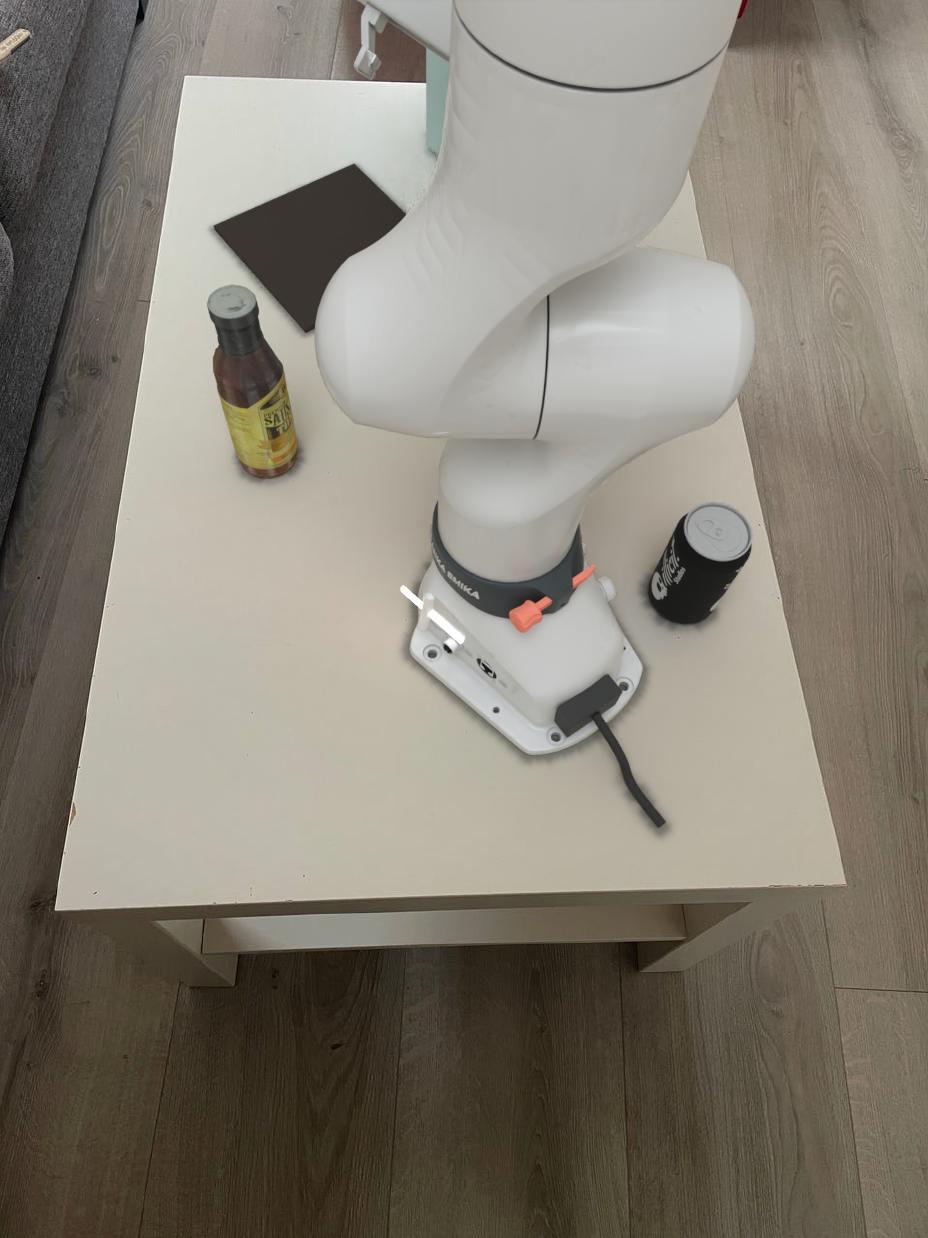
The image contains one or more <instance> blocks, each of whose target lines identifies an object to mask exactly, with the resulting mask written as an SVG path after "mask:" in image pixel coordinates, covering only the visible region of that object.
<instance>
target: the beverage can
mask: <svg viewBox="0 0 928 1238" xmlns="http://www.w3.org/2000/svg"><path fill="white" fill-rule="evenodd" d="M753 536H754V534H753V528H752V525H751V523H750V521H749V519H748V518H747V517H746V516H745V514H744V513H742V512H741V511H740V510H739V509H738V508H736V507H734V506H733V505H730V504H727V503H725V502H720V501H707V502H702V503H700V504H698V505H696V506H695V507H693V508H692V509H690V511H689V512H687V513H685V514H684V515H683V516H682V517H681V518H680V519H679V520H678V521H677V524H676V525H675V528H674V530H673V531H672V533H671V536H670V537H669V540H668V541H667V543H666V546H665V548H664V550H663V553H662V554H661V557H660V559H659V560H658V563H657V564H656V567H655V569H654V571H653V573H652V575H651V577H650V579H649V581H648V586H647V587H648V589H647V591H648V598H649V600H650V602H651V605H652V606H653V608H654V609H655V610H656V611H657V612H658V614H660V615H661V616H662V617H664V618H665V619H667V620H668V621H670V622H673V623H676V624H681V625H693V624H698V623H700V622H702V621H705V620H706V619H707V618H708V617H710V616H711V615H712V613H713V612H714V611H715V609H716V607H718V604H719V603H720V602H721V601H722V599H723V597H724V596H725V594H726V593H727V591H728V590H729V588H730V587H731V585H732V584H733V582H734V581H735V580H736V578H737V576H738V575H739V573H740V572H741V570H742V569H743V567H744V566H745V565H746V563H747V562H748V560H749V558H750V556H751V553H752V545H753V544H752V543H753Z"/></svg>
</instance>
